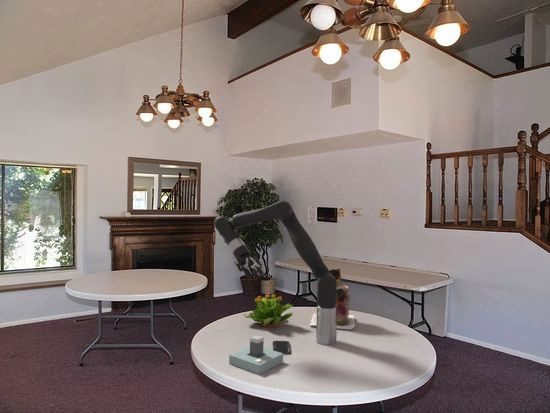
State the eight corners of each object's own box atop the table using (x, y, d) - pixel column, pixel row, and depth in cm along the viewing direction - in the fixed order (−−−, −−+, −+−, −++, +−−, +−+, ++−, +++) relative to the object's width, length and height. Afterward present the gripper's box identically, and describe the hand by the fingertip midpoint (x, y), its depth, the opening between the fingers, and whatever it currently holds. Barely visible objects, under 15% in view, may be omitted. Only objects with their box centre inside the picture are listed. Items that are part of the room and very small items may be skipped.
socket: (254, 352, 170) (254, 343, 170) (283, 361, 160) (283, 352, 160) (229, 363, 157) (229, 353, 157) (258, 374, 148) (259, 363, 148)
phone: (288, 341, 184) (290, 352, 169) (288, 343, 184) (290, 355, 169) (272, 340, 184) (272, 352, 169) (272, 343, 184) (272, 354, 169)
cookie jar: (313, 315, 233) (314, 263, 233) (354, 318, 228) (355, 265, 229) (309, 327, 209) (310, 269, 209) (354, 331, 204) (356, 271, 204)
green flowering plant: (267, 315, 229) (268, 286, 229) (301, 323, 215) (302, 292, 216) (240, 325, 209) (241, 293, 209) (275, 334, 195) (276, 300, 195)
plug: (255, 358, 162) (256, 335, 162) (263, 361, 159) (263, 337, 159) (249, 361, 158) (250, 337, 159) (256, 364, 156) (257, 339, 156)
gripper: (233, 245, 179) (251, 272, 172) (252, 243, 190) (270, 269, 183) (224, 255, 182) (241, 282, 175) (244, 253, 193) (261, 278, 186)
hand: (256, 275), depth 179 cm, fingers open, 8 cm apart
